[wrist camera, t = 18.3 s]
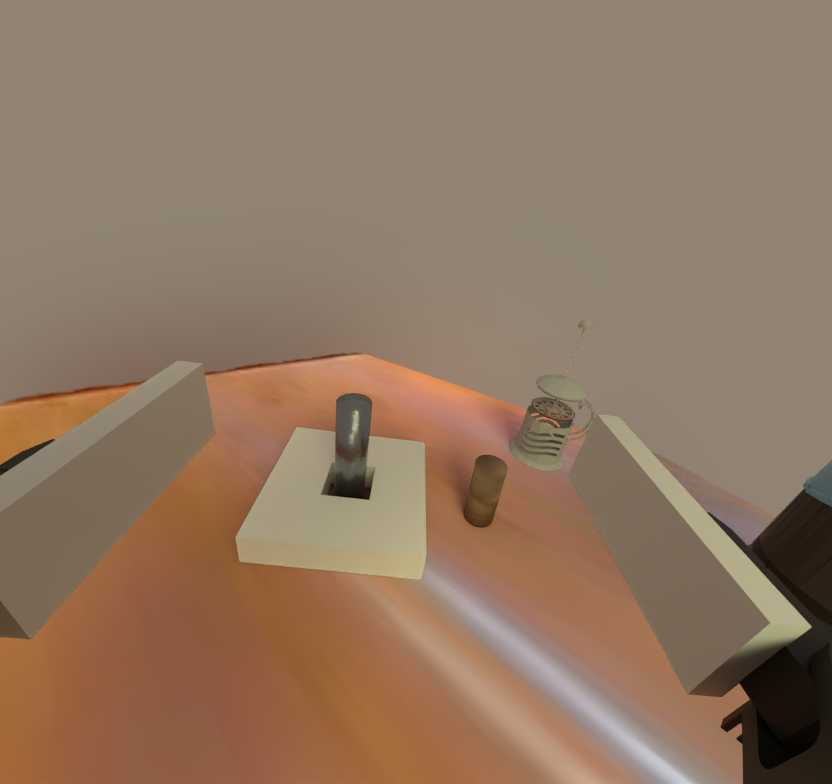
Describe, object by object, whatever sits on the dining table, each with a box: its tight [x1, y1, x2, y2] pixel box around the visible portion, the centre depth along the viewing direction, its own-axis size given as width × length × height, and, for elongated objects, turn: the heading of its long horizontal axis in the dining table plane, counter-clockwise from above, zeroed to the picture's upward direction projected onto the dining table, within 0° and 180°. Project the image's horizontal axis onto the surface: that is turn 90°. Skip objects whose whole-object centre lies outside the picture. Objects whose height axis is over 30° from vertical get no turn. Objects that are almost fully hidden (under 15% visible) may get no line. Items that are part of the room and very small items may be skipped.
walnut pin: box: [464, 455, 507, 527], centre depth 46 cm, size 4×4×9 cm
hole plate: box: [235, 427, 426, 580], centre depth 46 cm, size 20×20×4 cm
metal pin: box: [334, 393, 372, 499], centre depth 43 cm, size 4×4×16 cm
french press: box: [509, 320, 595, 471], centre depth 56 cm, size 10×12×25 cm
